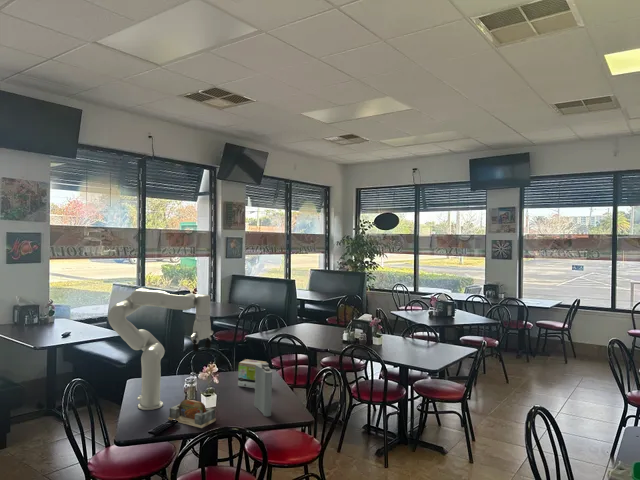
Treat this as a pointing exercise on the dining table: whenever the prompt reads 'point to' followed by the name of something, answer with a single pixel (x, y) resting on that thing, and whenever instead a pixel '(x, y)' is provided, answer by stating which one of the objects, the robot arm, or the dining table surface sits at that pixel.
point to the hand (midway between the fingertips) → (201, 349)
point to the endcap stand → (199, 420)
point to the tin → (191, 408)
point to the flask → (263, 388)
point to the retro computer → (247, 373)
